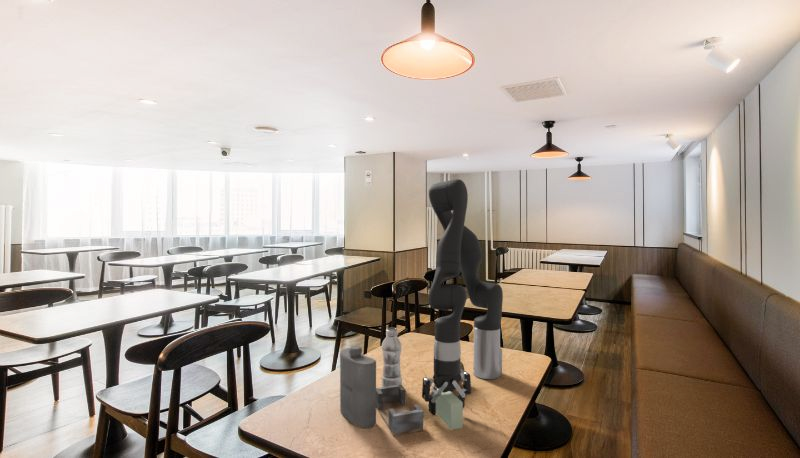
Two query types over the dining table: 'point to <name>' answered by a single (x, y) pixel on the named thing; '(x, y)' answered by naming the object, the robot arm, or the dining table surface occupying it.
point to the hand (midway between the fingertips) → (446, 411)
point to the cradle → (398, 410)
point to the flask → (358, 387)
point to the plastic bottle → (391, 358)
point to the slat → (450, 410)
